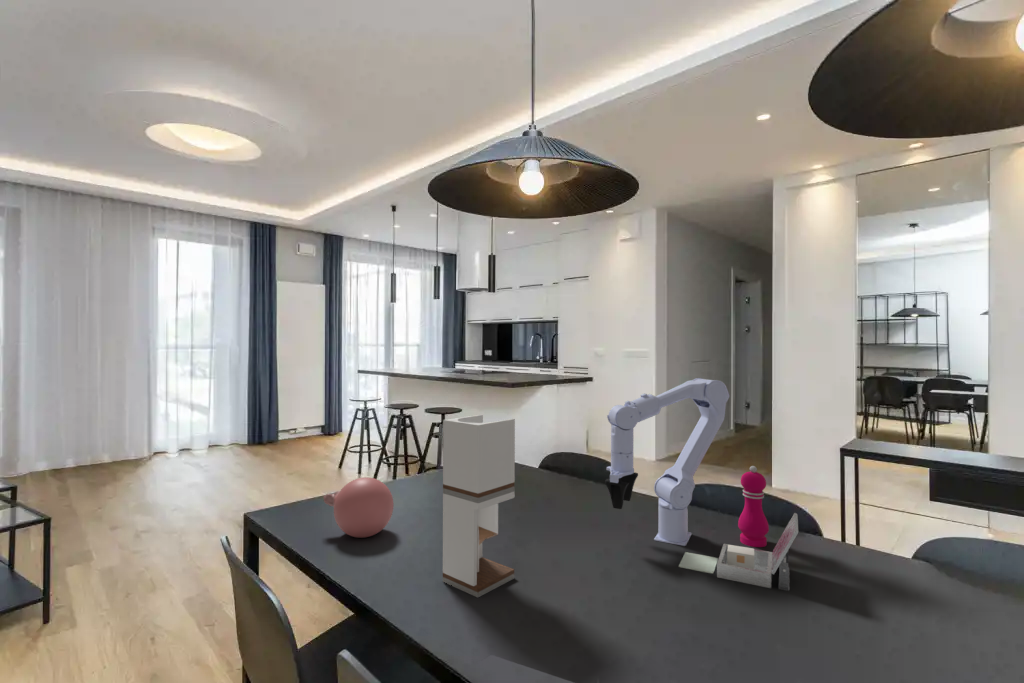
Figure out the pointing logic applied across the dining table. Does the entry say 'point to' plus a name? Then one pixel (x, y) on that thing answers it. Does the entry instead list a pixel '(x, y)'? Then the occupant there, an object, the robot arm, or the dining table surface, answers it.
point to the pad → (698, 562)
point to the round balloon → (362, 507)
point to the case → (754, 570)
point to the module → (740, 556)
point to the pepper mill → (753, 510)
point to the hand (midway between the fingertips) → (621, 504)
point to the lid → (784, 543)
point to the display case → (475, 499)
